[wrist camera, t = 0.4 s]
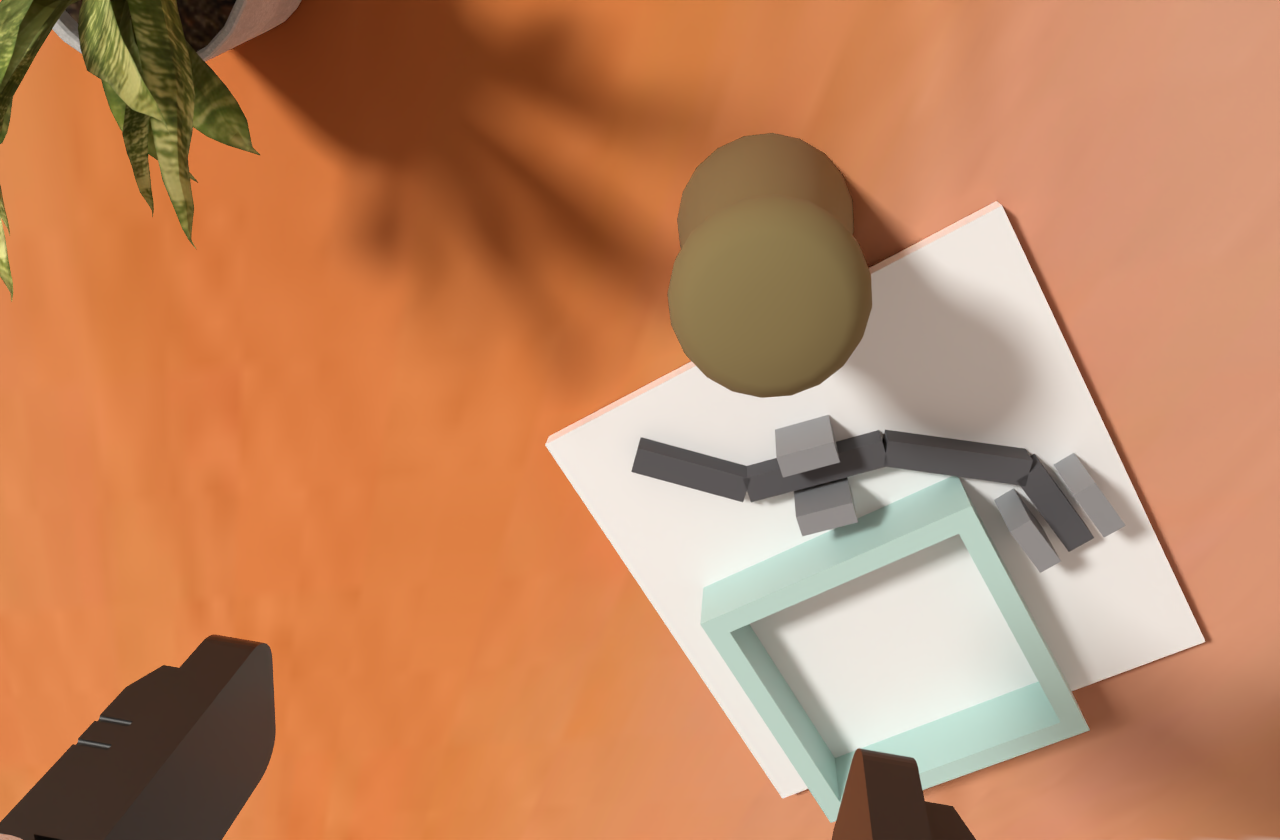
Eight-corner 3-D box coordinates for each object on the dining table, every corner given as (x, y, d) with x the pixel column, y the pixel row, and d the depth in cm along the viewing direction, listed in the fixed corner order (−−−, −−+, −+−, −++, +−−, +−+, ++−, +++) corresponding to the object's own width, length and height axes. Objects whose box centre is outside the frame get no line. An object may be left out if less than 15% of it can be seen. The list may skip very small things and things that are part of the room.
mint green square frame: (957, 473, 36) (971, 506, 34) (1070, 687, 39) (1089, 730, 37) (703, 587, 39) (700, 624, 37) (826, 778, 42) (830, 822, 40)
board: (996, 201, 33) (1020, 220, 30) (1196, 629, 38) (1234, 681, 35) (549, 436, 38) (531, 472, 35) (781, 784, 43) (784, 841, 40)
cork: (843, 313, 35) (880, 440, 25) (673, 303, 35) (641, 423, 25) (864, 137, 32) (914, 197, 22) (681, 129, 33) (649, 184, 23)
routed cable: (1107, 460, 35) (1116, 472, 34) (1079, 541, 36) (1088, 555, 35) (642, 392, 36) (639, 403, 35) (632, 474, 37) (629, 486, 36)
